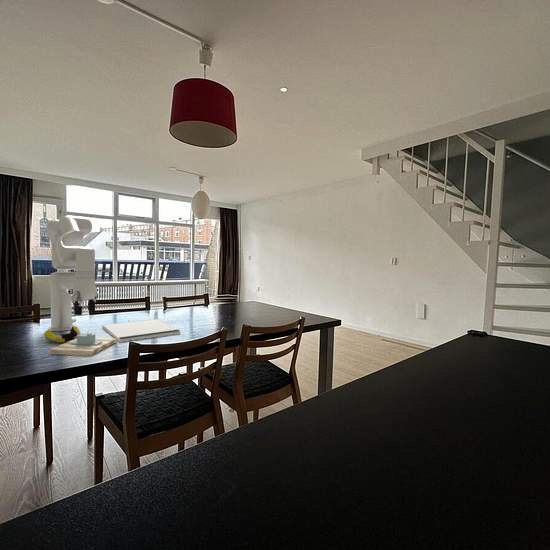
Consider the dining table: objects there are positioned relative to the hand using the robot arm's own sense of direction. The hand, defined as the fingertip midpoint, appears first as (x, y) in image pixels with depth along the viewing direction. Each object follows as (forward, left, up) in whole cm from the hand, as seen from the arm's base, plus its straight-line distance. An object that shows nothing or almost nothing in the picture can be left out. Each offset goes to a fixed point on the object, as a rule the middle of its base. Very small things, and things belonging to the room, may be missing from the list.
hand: (85, 312), depth 144 cm
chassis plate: (0, 0, -16) cm, 16 cm away
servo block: (0, +1, -16) cm, 16 cm away
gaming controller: (-10, -17, -16) cm, 26 cm away
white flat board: (-34, +10, -17) cm, 39 cm away
